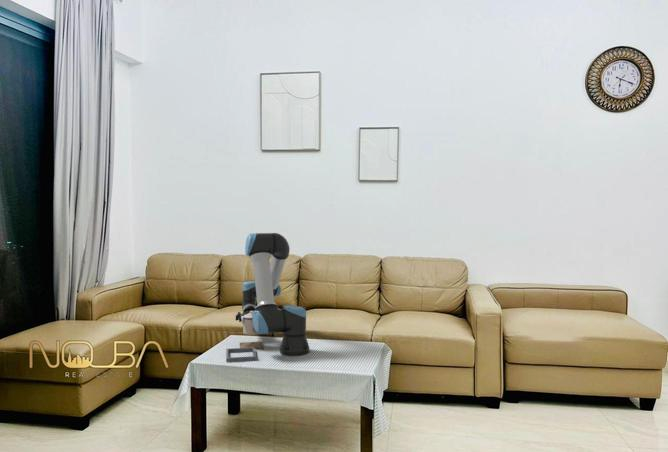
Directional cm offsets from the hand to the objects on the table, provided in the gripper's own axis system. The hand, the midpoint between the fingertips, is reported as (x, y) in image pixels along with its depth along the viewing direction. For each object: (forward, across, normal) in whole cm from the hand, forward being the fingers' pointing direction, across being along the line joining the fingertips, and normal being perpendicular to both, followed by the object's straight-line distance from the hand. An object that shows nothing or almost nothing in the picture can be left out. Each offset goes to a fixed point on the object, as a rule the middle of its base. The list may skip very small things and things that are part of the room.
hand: (251, 320), depth 261 cm
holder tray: (+14, +6, -14) cm, 21 cm away
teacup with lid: (-4, -1, -7) cm, 9 cm away
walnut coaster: (-4, 0, -14) cm, 15 cm away
